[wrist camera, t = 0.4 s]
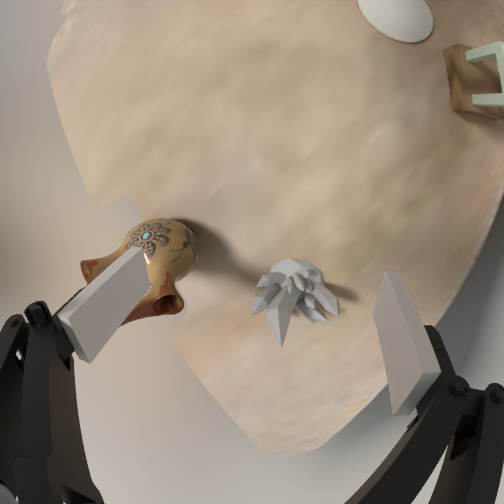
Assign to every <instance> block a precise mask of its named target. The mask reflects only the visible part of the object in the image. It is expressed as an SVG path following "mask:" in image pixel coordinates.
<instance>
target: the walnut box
mask: <svg viewBox="0 0 504 504" xmlns="http://www.w3.org/2000/svg"><path fill="white" fill-rule="evenodd" d="M471 49H473V48H470V47H467V46H464V45H460V44H456V45H454V46H452V47H449V48H447V49H445V50H444V55H445V60H446V66H447V72H448V79H449V86H450V95H451V105H452V110H456V111H461V112H466V113H471V114H475V115H480V116H484V117H488V118H492V119H495V120H503V121H504V113H503V107H500V106H478V105H474V104H473V101H472V95H473V94H495V93H502V86H501V79H500V73H499V71H498V67H497V63H498V62H497V58H492V59H487V60H483V61H479V62H470V61H467V60H466V55H465V51H468V50H471Z"/></svg>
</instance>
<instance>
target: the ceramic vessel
mask: <svg viewBox="0 0 504 504" xmlns="http://www.w3.org/2000/svg"><path fill="white" fill-rule="evenodd" d="M131 247H142V248H143V251H144V257H145V262H146V267H147V272H148V277H149V281H150V285H152V288H151V290H150V292H149V293H148V294H147V295H146V296H145V297H144V298H143V299H141V300H140V302H139V303H138V304H137V305H136V306H135V308H134V309H133V310H132V311H131V313H130V314H129V315H128V316H127V317H126V319H125V320H124V321H123V322H122V324H121V325H120V326H122V325H124V324H126V323H129V322H131V321H134V320H137V319H141V318H145V317H152V316H159V315H172V314H177V313H179V312H180V311H182V309H183V307H184V301H183V299H182V297H181V296H180V294H179V293H178V291H177V289H176V287H175V282H177V281H179V280H181V279H183V278H184V277H186V276H187V275H188V274H189V273H190V272H191V271H192V270H193V268H194V267H195V265H196V263H197V261H198V258H199V243H198V240H197V238H196V236H195V234H194V233H193V232H192V231H191V229H189V228H188V227H187V226H186V225H184V224H182V223H181V222H178V221H176V220H172V219H166V218H157V219H151V220H147V221H145V222H142V223H140V224H138V225H137V226H135V227H134V228H133V229H131V230H130V231H129V233H128V234H127V235H126V236H125V238H124V240H123V242H122V244H121V246H120V247H119V249H118V250H116V251H115V252H113V253H112V254H110V255H108V256H106V257H103V258H99V259H91V260H82V261H81V263H80V266H81V271H82V274H83V276H84V279H85V280H86V282H87V285H89V284H90V283H91V282H92V281H93V280H94V279H95V278H96V277H97V276H99V275H100V274H101V273H102V272H103V271H104V270H105V269H106V268H108V267H109V266H110V265H111V264H112V263H113V262H115V261H116V260H117V259H118V258H119V257H120V256H122V255H123V254H124V253H125V252H126V251H127V250H129V249H130V248H131ZM120 326H119V327H120Z"/></svg>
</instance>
